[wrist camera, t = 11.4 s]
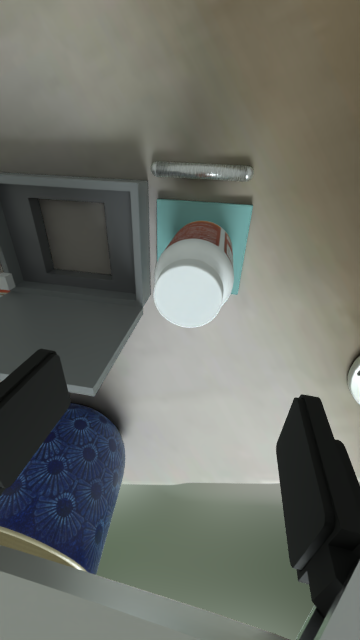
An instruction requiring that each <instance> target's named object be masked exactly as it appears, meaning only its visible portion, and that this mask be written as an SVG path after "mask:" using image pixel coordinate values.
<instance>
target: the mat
mask: <svg viewBox="0 0 360 640" xmlns="http://www.w3.org/2000/svg"><path fill="white" fill-rule="evenodd" d="M252 208H253V205H246V204H231V203H215V202H200V201H185V200H170V199H157V262H158V260H159V258H160V256H161V254H162V253H163V251H164V250H165V249H166V247H167V246H168V245H169V243H170V242H171V240H172V239H173V238H174V236H175V235H176V234H177V232H178V231H179V230H180V229H181V228H182V227H184V226H185V225H187V224H189V223H191V222H194V221H209V222H213V223H215V224H217V225H219V226H220V227H222V228H223V229H224V230H225V231H226V233H227V234H228V236H229V238H230V240H231V243H232V249H233V269H234V283H233V288H232V291H231V294H235V295H237V294H238V289H239V283H240V277H241V271H242V266H243V260H244V254H245V248H246V243H247V237H248V231H249V225H250V220H251V214H252Z"/></svg>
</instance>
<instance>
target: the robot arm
mask: <svg viewBox="0 0 360 640" xmlns="http://www.w3.org/2000/svg"><path fill="white" fill-rule="evenodd" d="M348 387H349V390H350V392H351V394H352V396H353V398H354V399H355V400H356V402H357V403H358V404H359V405H360V356H359V357H358V358H357V359H356V360H355V361H354V363H353V365H352V366H351V368H350V370H349V374H348ZM69 405H70V396H69V392H68V388H67V384H66V380H65V376H64V372H63V368H62V364H61V360H60V357H59V356H58V355H57V353H56V352H55V351H52V350H47V349H39V350H37V351H36V352H35V353H34V354H33V355H31V356H30V357H29V358H28V359H27V360H26V361H25V362H23V363H22V364H21V365H20V366H19V367H18V368H17V369H15V370H14V371H13V372H12V373H11V374H10V375H9V376H7V377H6V378H5V379H4V380H3V381H2V382H1V383H0V495H1V494H2V493H3V491H4V490H5V489H6V488H9V487H10V486H11V485H12V484H13V483H14V482H15V480H16V479H17V477H18V476H19V475H20V473H21V472H22V471H23V469H24V468H25V467H26V465H27V464H28V462H29V461H30V460H31V458H32V457H33V456H34V454H35V453H36V452H37V450H38V449H39V447H40V446H41V445H42V443H43V442H44V441H45V439H46V438H47V437H48V435H49V434H50V432H51V431H52V430H53V428H54V427H55V426H56V424H57V423H58V422H59V420H60V419H61V417H62V416H63V415H64V413H65V412H66V411H67V409H68V408H69ZM276 454H277V462H278V470H279V478H280V486H281V494H282V502H283V510H284V518H285V527H286V534H287V543H288V551H289V558H290V563H291V566H292V567H293V568H295V569H297V575H298V581H299V582H302V583H306V584H309V586H310V592H311V598H312V602H313V603H314V604H315V606H314V607H313V609H312V611H311V613H310V614H309V616H308V618H307V620H306V622H305V623H304V625H303V627H302V629H301V631H300V632H299V634H298V636H297V638H296V640H360V485H359V483H358V480H357V477H356V475H355V472H354V469H353V467H352V464H351V461H350V459H349V456H348V453H347V451H346V448H345V446H344V444H343V443H342V442H341V441H339V440H335V439H334V437H333V434H332V431H331V428H330V425H329V422H328V419H327V416H326V414H325V411H324V408H323V405H322V402H321V400H320V398H319V397H313V396H308V395H300V397H299V398H294V400H293V403H292V405H291V408H290V410H289V413H288V416H287V418H286V421H285V423H284V426H283V429H282V431H281V434H280V437H279V439H278V442H277V446H276ZM0 640H289V639H287V638H284V637H282V636H279V635H277V634H274V633H271V632H268V631H265V630H262V629H259V628H256V627H253V626H251V625H248V624H245V623H242V622H239V621H236V620H234V619H230V618H228V617H225V616H222V615H219V614H216V613H213V612H210V611H207V610H204V609H200V608H198V607H194V606H191V605H188V604H185V603H182V602H179V601H176V600H173V599H169V598H166V597H163V596H160V595H157V594H154V593H151V592H148V591H145V590H142V589H139V588H136V587H132V586H129V585H126V584H123V583H120V582H117V581H113V580H110V579H107V578H104V577H101V576H97V575H95V574H91V573H88V572H85V571H82V570H79V569H76V568H73V567H69V566H66V565H63V564H60V563H57V562H54V561H50V560H47V559H44V558H41V557H38V556H35V555H31V554H28V553H25V552H22V551H18V550H15V549H12V548H9V547H6V546H2V545H0Z"/></svg>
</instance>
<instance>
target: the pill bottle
mask: <svg viewBox="0 0 360 640" xmlns="http://www.w3.org/2000/svg"><path fill="white" fill-rule="evenodd" d="M154 282H155V286H154V292H153V295H154V302H155V305H156V307H157V309H158V311H159V312H160V314H161V315H162V316H163V317H164V318H165V319H167V320H168V321H169V322H171V323H173V324H175V325H178V326H181V327H188V328H192V327H199V326H202V325H205V324H207V323H208V322H210V321H211V320H213V319H214V318H215V317H216V315H217V314H218V312H219V311H220V308H221V306H222V305H223V304H224V303H225V302H226V301H227V299H228V298H229V296H230V294H231V291H232V288H233V283H234V269H233V249H232V243H231V240H230V238H229V236H228V234H227V233H226V231H225V230H224V229H223V228H222V227H220V226H219V225H217V224H215V223H213V222H209V221H194V222H191V223H189V224H187V225H185V226H184V227H182V228H181V229H180V230H179V231H178V232H177V234H176V235H175V236H174V238H173V239H172V240H171V242H170V243H169V245H168V246H167V247H166V249H165V250H164V251H163V253H162V254H161V256H160V258H159V260H158V262H157V264H156V267H155V273H154Z"/></svg>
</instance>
